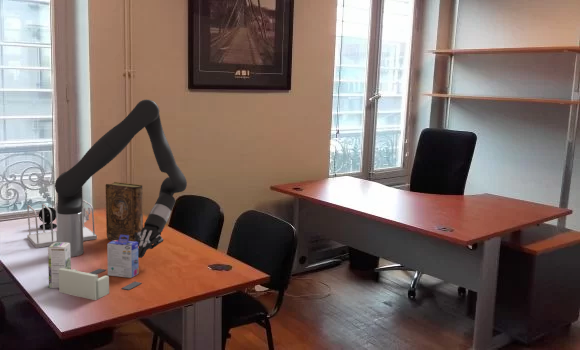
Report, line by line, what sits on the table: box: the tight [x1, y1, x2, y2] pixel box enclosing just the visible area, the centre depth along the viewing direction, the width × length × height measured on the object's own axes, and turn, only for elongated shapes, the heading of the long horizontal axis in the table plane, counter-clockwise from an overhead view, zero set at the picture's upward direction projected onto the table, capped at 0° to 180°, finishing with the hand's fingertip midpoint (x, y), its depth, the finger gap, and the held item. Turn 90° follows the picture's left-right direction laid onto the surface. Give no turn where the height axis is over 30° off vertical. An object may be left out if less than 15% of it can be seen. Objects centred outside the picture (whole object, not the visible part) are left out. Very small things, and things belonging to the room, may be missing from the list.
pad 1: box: [89, 268, 107, 275], centre depth 202 cm, size 3×7×1 cm, turn 157°
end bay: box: [58, 268, 110, 301], centre depth 183 cm, size 15×6×8 cm, turn 67°
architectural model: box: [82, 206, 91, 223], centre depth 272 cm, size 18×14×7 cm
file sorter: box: [26, 199, 98, 249], centre depth 242 cm, size 25×17×16 cm
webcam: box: [38, 206, 57, 231], centre depth 259 cm, size 8×8×10 cm
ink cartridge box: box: [106, 235, 140, 279], centre depth 200 cm, size 10×6×14 cm, turn 78°
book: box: [105, 181, 144, 242], centre depth 241 cm, size 16×6×25 cm, turn 68°
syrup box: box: [47, 242, 72, 289], centre depth 188 cm, size 6×6×14 cm
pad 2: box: [121, 281, 143, 291], centre depth 190 cm, size 3×7×1 cm, turn 157°
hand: (138, 256), depth 209 cm, fingers closed
